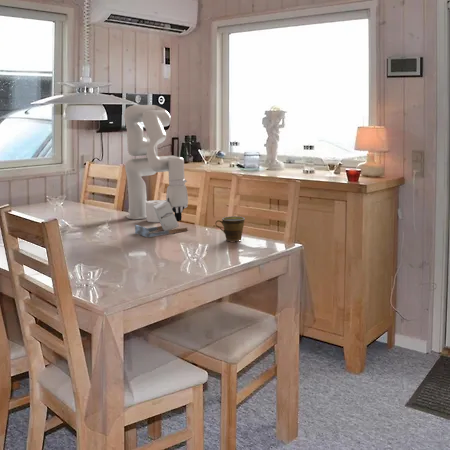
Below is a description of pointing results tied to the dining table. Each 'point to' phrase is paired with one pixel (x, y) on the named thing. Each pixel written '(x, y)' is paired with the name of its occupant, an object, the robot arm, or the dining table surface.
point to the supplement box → (166, 216)
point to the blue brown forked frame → (145, 231)
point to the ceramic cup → (232, 227)
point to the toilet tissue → (152, 210)
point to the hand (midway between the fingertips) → (178, 220)
